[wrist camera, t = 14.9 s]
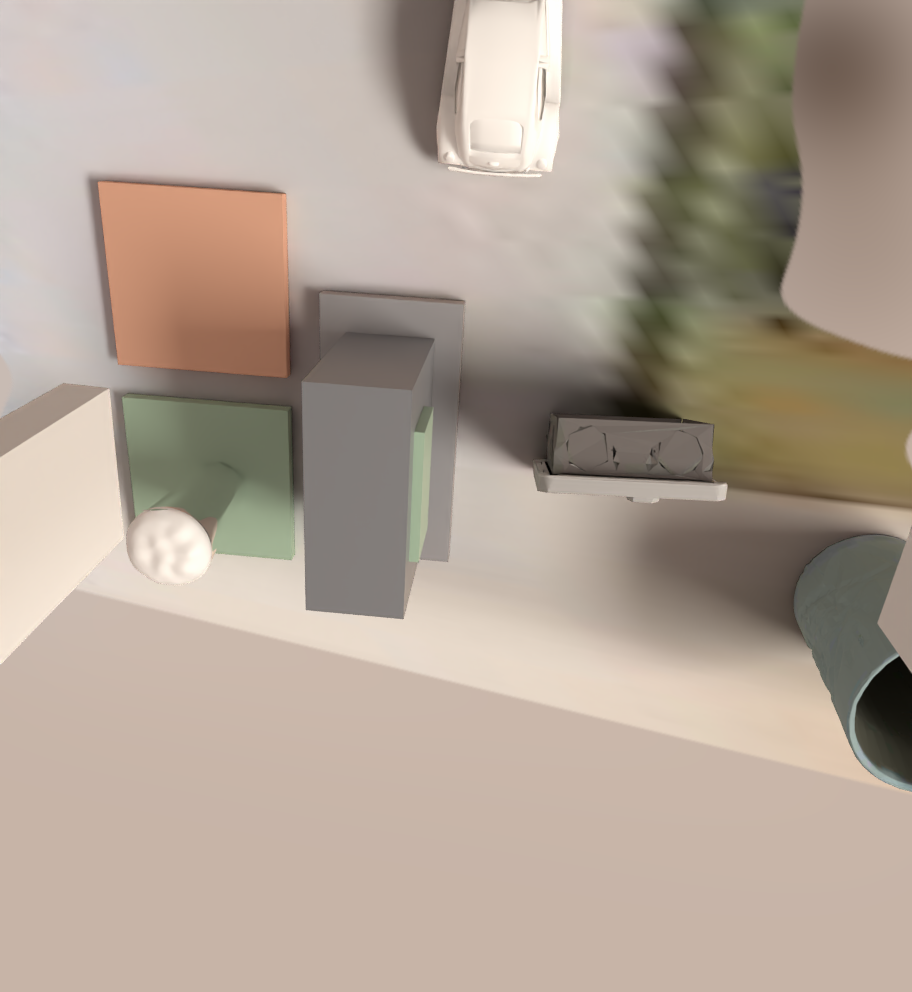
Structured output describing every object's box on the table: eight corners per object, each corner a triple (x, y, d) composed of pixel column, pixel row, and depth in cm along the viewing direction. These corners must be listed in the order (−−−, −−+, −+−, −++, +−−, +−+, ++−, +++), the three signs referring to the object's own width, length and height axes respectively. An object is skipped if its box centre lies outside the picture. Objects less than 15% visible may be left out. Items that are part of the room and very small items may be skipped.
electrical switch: (531, 471, 50) (534, 525, 41) (536, 386, 48) (540, 423, 39) (688, 479, 49) (725, 535, 40) (699, 393, 47) (740, 432, 39)
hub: (323, 290, 46) (266, 334, 36) (465, 301, 46) (448, 348, 36) (325, 543, 53) (277, 640, 43) (449, 554, 52) (431, 654, 42)
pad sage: (127, 393, 50) (121, 397, 49) (291, 406, 49) (287, 410, 48) (143, 540, 54) (138, 546, 53) (294, 554, 53) (291, 560, 52)
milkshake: (253, 442, 49) (191, 513, 40) (258, 522, 51) (201, 607, 42) (179, 437, 50) (101, 506, 40) (187, 517, 52) (115, 600, 43)
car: (553, 179, 43) (557, 184, 39) (435, 169, 43) (426, 174, 39) (584, -97, 38) (591, -125, 34) (450, -105, 38) (441, -135, 34)
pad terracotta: (104, 181, 45) (97, 181, 44) (285, 193, 44) (281, 194, 43) (124, 360, 49) (118, 364, 48) (290, 374, 48) (286, 377, 47)
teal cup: (756, 638, 53) (815, 770, 42) (820, 500, 49) (904, 606, 38) (906, 674, 53) (1004, 815, 42) (983, 540, 49) (1114, 658, 38)
